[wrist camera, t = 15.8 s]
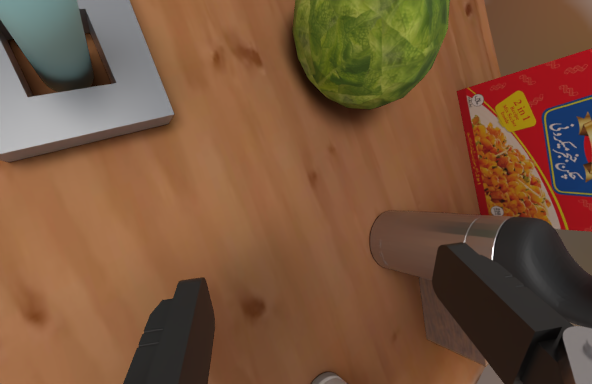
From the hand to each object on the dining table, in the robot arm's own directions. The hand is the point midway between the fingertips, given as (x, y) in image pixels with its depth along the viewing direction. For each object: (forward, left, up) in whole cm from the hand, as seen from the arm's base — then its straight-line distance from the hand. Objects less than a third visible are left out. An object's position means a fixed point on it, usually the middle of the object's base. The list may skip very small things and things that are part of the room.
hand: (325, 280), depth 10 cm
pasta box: (-59, +11, -25) cm, 65 cm away
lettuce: (-29, -15, -25) cm, 41 cm away
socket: (+5, -17, -25) cm, 30 cm away
